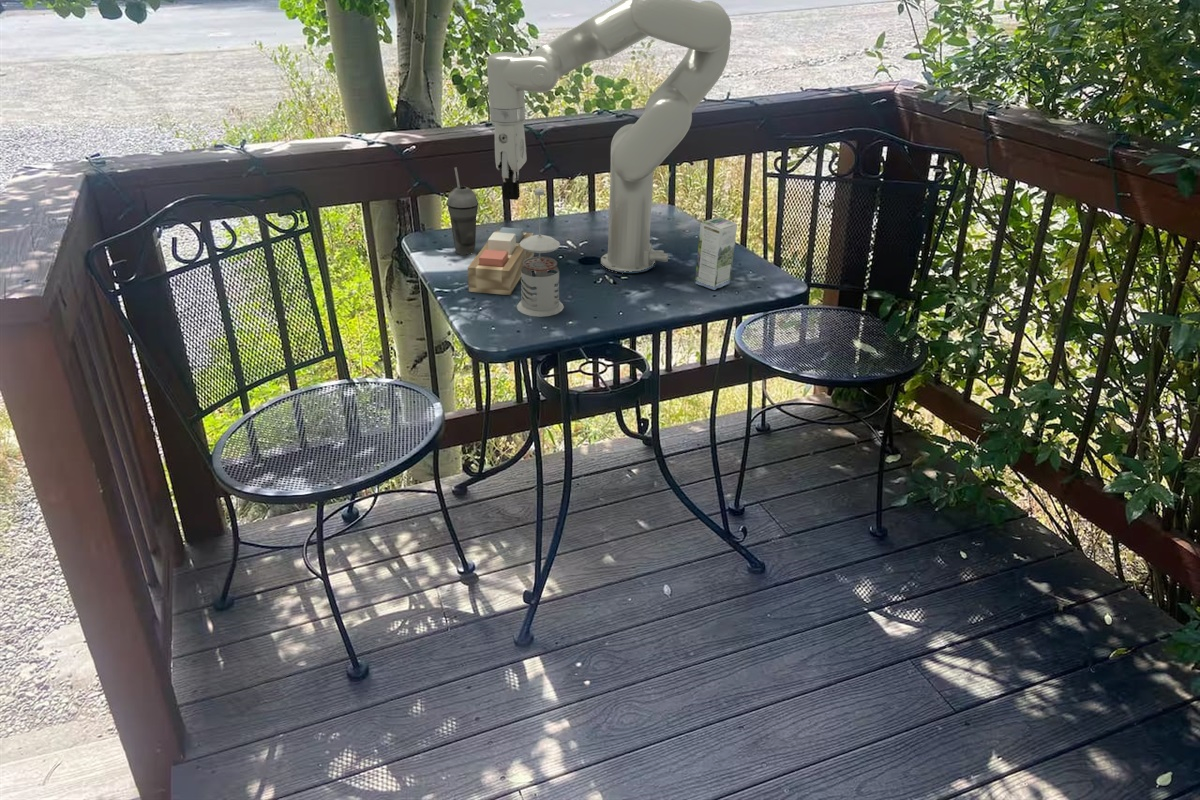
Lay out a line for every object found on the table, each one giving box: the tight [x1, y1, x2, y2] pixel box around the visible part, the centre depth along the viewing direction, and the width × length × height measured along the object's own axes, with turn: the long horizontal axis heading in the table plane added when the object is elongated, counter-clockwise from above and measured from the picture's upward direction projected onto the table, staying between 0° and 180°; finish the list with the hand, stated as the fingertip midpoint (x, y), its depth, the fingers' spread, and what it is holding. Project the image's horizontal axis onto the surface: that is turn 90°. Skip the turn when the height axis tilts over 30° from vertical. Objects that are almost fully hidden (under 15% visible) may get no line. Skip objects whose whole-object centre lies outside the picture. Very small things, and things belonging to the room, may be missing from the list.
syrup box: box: [694, 216, 738, 287], centre depth 193 cm, size 6×6×14 cm
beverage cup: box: [446, 167, 479, 256], centre depth 205 cm, size 7×7×20 cm
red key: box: [479, 250, 508, 267], centre depth 191 cm, size 5×5×4 cm
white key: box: [487, 231, 516, 255], centre depth 196 cm, size 5×5×4 cm
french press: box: [516, 187, 565, 318], centre depth 179 cm, size 10×12×25 cm
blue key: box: [498, 226, 524, 243], centre depth 204 cm, size 5×5×4 cm
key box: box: [467, 229, 535, 296], centre depth 198 cm, size 9×24×6 cm, turn 171°
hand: (511, 198), depth 199 cm, fingers closed
